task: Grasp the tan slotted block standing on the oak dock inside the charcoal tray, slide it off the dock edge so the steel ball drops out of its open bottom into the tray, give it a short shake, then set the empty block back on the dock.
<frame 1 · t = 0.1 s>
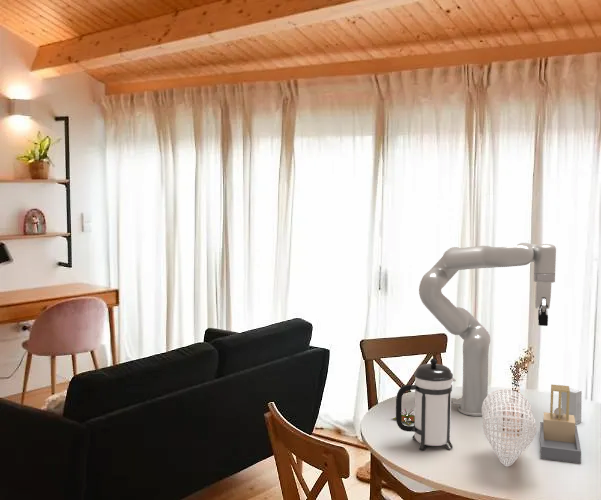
hand: (542, 322, 253), 37 cm above the table, tool pointing down, fingers open, 9 cm apart
ball: (559, 412, 235), point 10 cm above the table, touching shaker tray
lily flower: (407, 421, 256), on the table
shaker tray: (559, 447, 229), on the table
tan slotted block: (559, 417, 235), point 8 cm above the table, touching shaker tray
skincare box: (570, 421, 254), on the table
coffee press: (428, 445, 231), on the table
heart: (506, 466, 214), on the table
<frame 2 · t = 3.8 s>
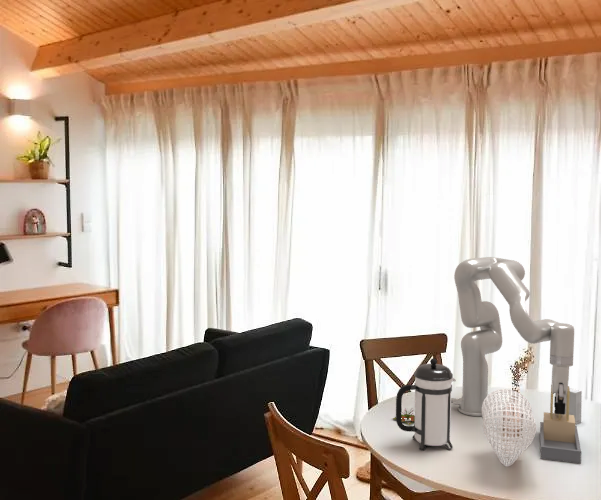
hand: (559, 410, 235), 11 cm above the table, tool pointing down, fingers closed on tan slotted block, 5 cm apart
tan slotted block: (559, 417, 235), point 8 cm above the table, touching gripper, shaker tray
everything else where it was.
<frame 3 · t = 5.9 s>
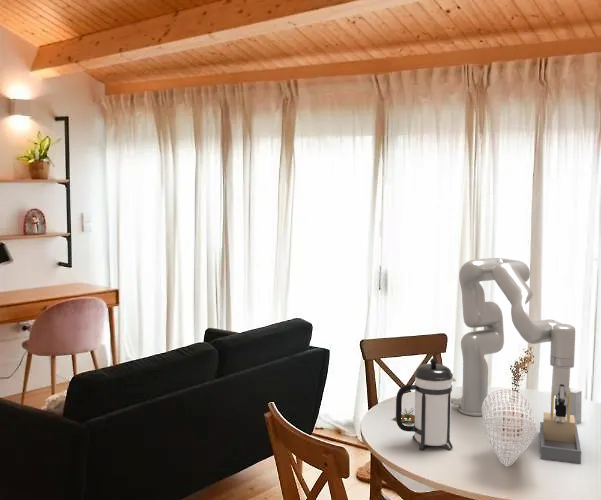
hand: (560, 412, 230), 11 cm above the table, tool pointing down, fingers closed on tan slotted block, 5 cm apart
ball: (559, 419, 230), point 9 cm above the table, tilted 180°
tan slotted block: (559, 420, 230), point 9 cm above the table, touching gripper
everything else where it was.
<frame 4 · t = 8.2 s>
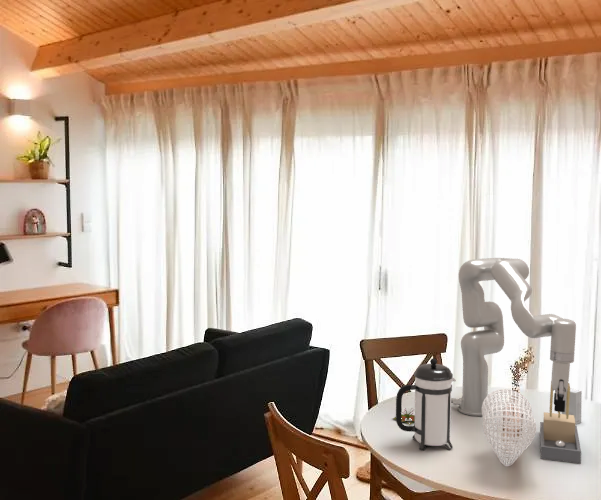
hand: (559, 407, 229), 13 cm above the table, tool pointing down, fingers closed on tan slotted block, 5 cm apart
ball: (560, 445, 224), point 3 cm above the table, tilted 107°, touching shaker tray
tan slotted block: (558, 414, 229), point 11 cm above the table, touching gripper
everything else where it was.
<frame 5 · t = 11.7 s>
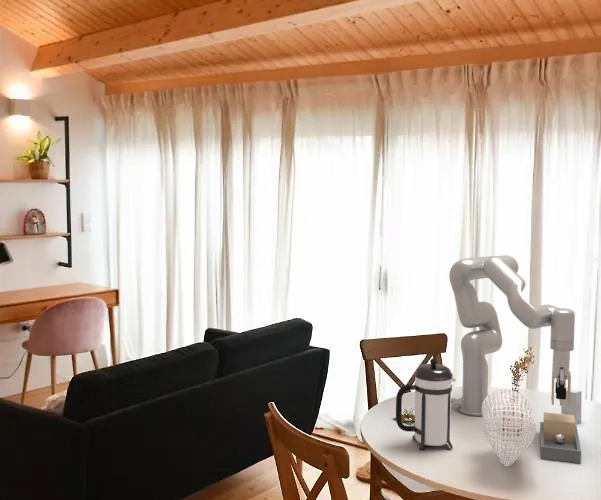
hand: (560, 395, 234), 16 cm above the table, tool pointing down, fingers closed on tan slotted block, 5 cm apart
ball: (559, 438, 230), point 3 cm above the table, tilted 119°, touching shaker tray
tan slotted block: (560, 402, 234), point 13 cm above the table, touching gripper
everything else where it was.
when the fingers open (11 cm above the table, at t = 13.1 s): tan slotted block stays where it is, resting on shaker tray.
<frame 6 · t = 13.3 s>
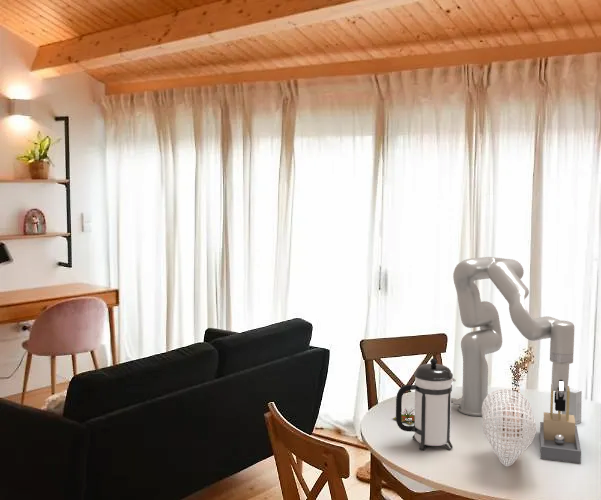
hand: (559, 406, 234), 12 cm above the table, tool pointing down, fingers open, 7 cm apart
ball: (559, 438, 229), point 3 cm above the table, tilted 98°, touching shaker tray
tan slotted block: (559, 417, 235), point 8 cm above the table, touching shaker tray
everything else where it was.
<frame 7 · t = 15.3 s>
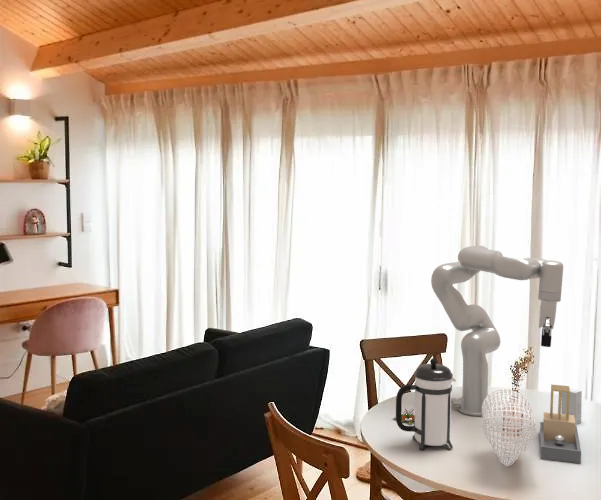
hand: (545, 343, 241), 32 cm above the table, tool pointing down, fingers open, 9 cm apart
ball: (559, 439, 228), point 3 cm above the table, tilted 70°, touching shaker tray
everything else where it was.
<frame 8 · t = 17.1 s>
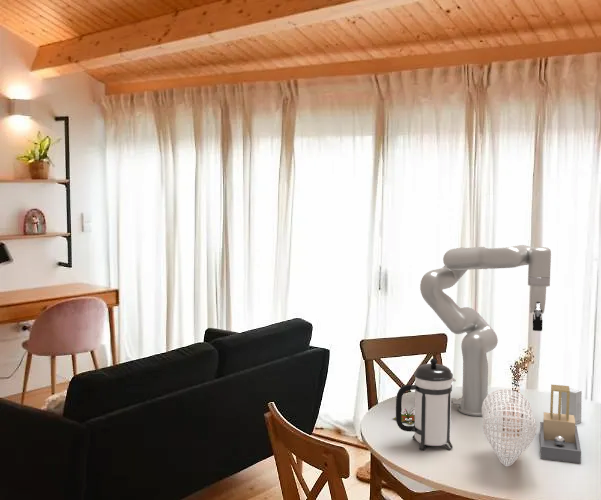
hand: (537, 327, 247), 36 cm above the table, tool pointing down, fingers open, 9 cm apart
ball: (559, 440, 228), point 3 cm above the table, tilted 46°, touching shaker tray
everything else where it was.
at the end: ball inside the target area on the shaker tray (3.0 cm from its centre), point 2.7 cm above the shaker tray's base; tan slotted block inside the target area on the shaker tray (0.0 cm from its centre), point 8.0 cm above the shaker tray's base; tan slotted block tilted 0° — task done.
